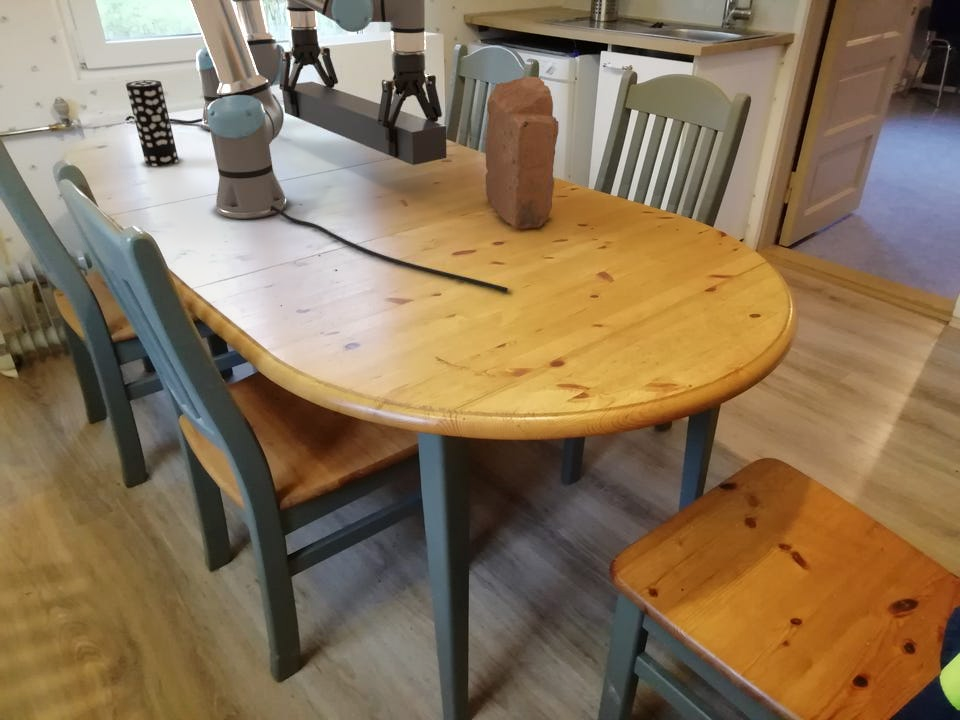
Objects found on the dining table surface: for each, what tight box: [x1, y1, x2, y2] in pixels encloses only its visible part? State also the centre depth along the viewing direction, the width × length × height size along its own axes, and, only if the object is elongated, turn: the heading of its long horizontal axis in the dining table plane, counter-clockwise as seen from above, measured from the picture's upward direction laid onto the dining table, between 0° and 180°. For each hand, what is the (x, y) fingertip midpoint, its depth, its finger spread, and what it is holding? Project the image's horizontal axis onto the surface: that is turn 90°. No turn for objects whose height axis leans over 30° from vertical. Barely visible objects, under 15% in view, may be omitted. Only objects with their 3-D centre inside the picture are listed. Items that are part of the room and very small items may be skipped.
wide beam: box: [281, 81, 447, 166], centre depth 180 cm, size 63×10×8 cm, turn 41°
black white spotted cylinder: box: [125, 79, 179, 167], centre depth 181 cm, size 8×8×20 cm
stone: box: [484, 76, 560, 230], centre depth 149 cm, size 22×11×28 cm, turn 18°
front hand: (411, 151), depth 166 cm, fingers closed on wide beam, 10 cm apart
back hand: (312, 113), depth 197 cm, fingers closed on wide beam, 10 cm apart
